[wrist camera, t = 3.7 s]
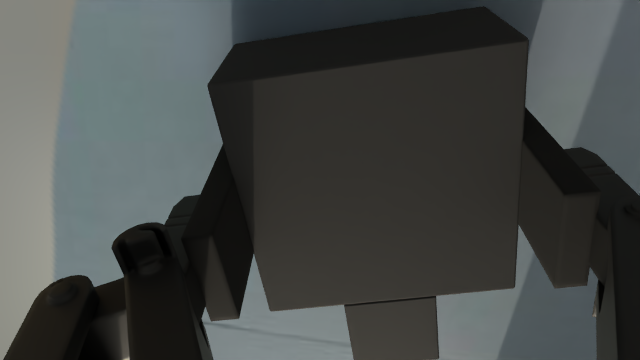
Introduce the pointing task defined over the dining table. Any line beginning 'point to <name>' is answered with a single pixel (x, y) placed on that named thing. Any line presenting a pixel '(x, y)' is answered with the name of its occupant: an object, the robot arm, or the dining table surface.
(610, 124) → the dining table surface
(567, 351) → the dining table surface
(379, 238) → the black pad
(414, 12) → the dining table surface
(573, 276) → the robot arm
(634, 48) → the dining table surface
